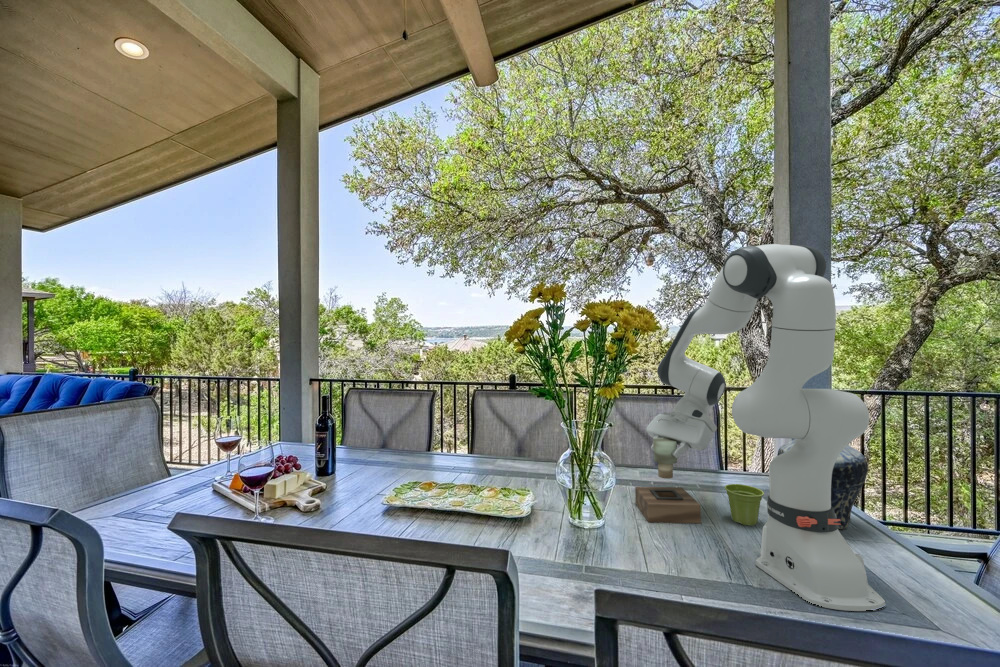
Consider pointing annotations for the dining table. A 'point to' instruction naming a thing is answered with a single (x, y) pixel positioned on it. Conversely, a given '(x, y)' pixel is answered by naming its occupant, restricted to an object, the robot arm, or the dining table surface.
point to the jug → (843, 480)
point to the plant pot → (744, 503)
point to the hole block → (667, 505)
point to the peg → (664, 456)
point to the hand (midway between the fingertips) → (663, 453)
